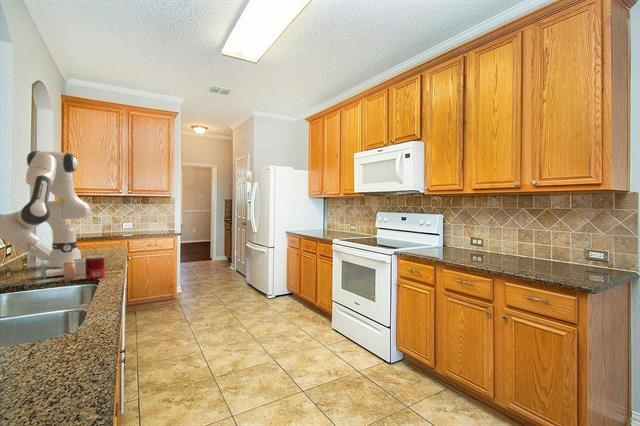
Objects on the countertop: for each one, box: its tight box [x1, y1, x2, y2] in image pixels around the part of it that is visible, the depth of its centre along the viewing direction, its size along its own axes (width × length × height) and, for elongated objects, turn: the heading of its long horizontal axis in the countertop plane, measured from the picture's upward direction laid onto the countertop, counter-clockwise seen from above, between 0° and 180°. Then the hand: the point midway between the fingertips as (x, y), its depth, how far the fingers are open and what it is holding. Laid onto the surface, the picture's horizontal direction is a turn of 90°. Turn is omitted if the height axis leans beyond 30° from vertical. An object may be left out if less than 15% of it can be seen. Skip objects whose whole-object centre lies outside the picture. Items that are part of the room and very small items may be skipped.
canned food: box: [85, 254, 105, 280], centre depth 168 cm, size 8×8×11 cm
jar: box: [63, 261, 77, 281], centre depth 165 cm, size 5×5×9 cm
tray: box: [40, 261, 64, 280], centre depth 171 cm, size 9×10×7 cm
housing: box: [61, 257, 86, 276], centre depth 177 cm, size 11×10×7 cm
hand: (55, 261), depth 161 cm, fingers open, 8 cm apart
